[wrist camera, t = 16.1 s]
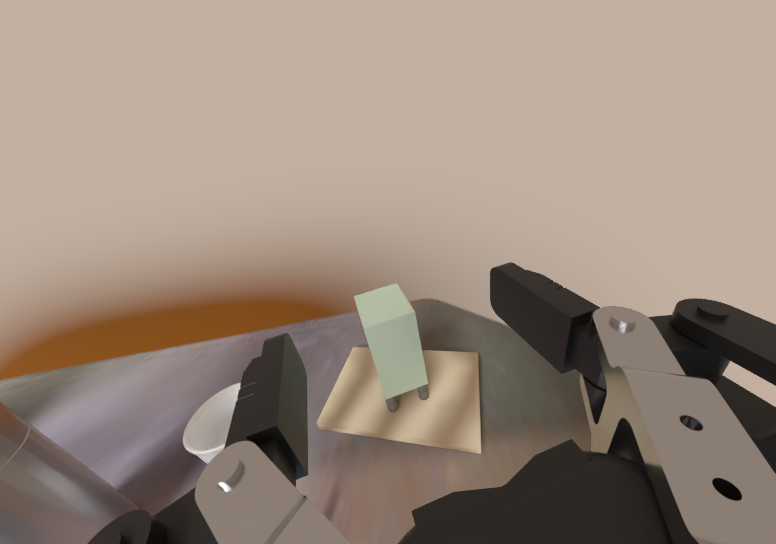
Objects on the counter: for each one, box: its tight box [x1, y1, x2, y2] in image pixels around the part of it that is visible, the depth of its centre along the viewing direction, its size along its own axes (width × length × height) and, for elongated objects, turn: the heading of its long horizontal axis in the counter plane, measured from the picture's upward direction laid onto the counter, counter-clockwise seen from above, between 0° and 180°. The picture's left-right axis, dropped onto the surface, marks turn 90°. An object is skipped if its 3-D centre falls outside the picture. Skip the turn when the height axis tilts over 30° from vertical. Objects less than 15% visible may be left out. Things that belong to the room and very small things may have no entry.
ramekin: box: [183, 383, 241, 464], centre depth 33 cm, size 9×9×4 cm
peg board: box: [317, 347, 481, 454], centre depth 33 cm, size 18×12×4 cm, turn 75°
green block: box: [354, 283, 428, 400], centre depth 30 cm, size 6×5×10 cm
